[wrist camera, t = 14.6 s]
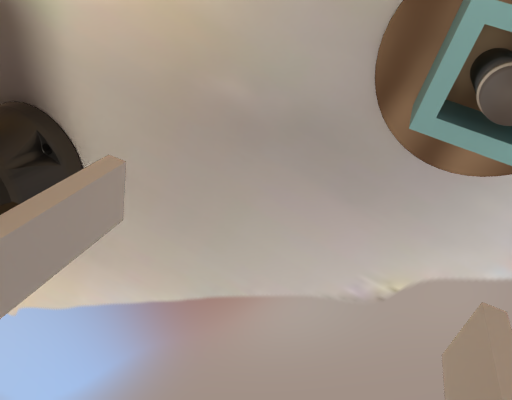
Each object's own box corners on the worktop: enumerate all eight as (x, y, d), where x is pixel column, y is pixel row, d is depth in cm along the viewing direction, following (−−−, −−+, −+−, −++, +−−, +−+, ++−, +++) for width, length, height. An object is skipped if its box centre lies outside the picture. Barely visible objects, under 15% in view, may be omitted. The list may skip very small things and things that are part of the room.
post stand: (346, 130, 34) (322, 170, 27) (435, -95, 26) (435, -127, 18) (540, 202, 31) (573, 270, 24) (715, -26, 23) (851, -31, 15)
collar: (412, 105, 31) (408, 128, 26) (466, -8, 26) (474, -7, 21) (519, 143, 29) (537, 175, 24) (595, 29, 25) (635, 40, 20)
